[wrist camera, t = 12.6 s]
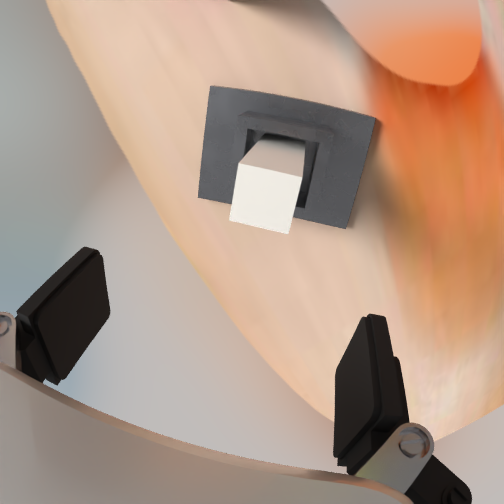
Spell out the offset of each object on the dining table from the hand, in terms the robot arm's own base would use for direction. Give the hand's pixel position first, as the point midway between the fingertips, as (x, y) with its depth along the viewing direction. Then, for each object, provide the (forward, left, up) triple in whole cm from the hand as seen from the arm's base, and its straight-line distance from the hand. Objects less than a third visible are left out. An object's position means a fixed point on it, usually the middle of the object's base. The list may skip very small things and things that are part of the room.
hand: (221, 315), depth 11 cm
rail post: (0, 0, -23) cm, 23 cm away
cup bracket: (0, 0, -24) cm, 24 cm away
